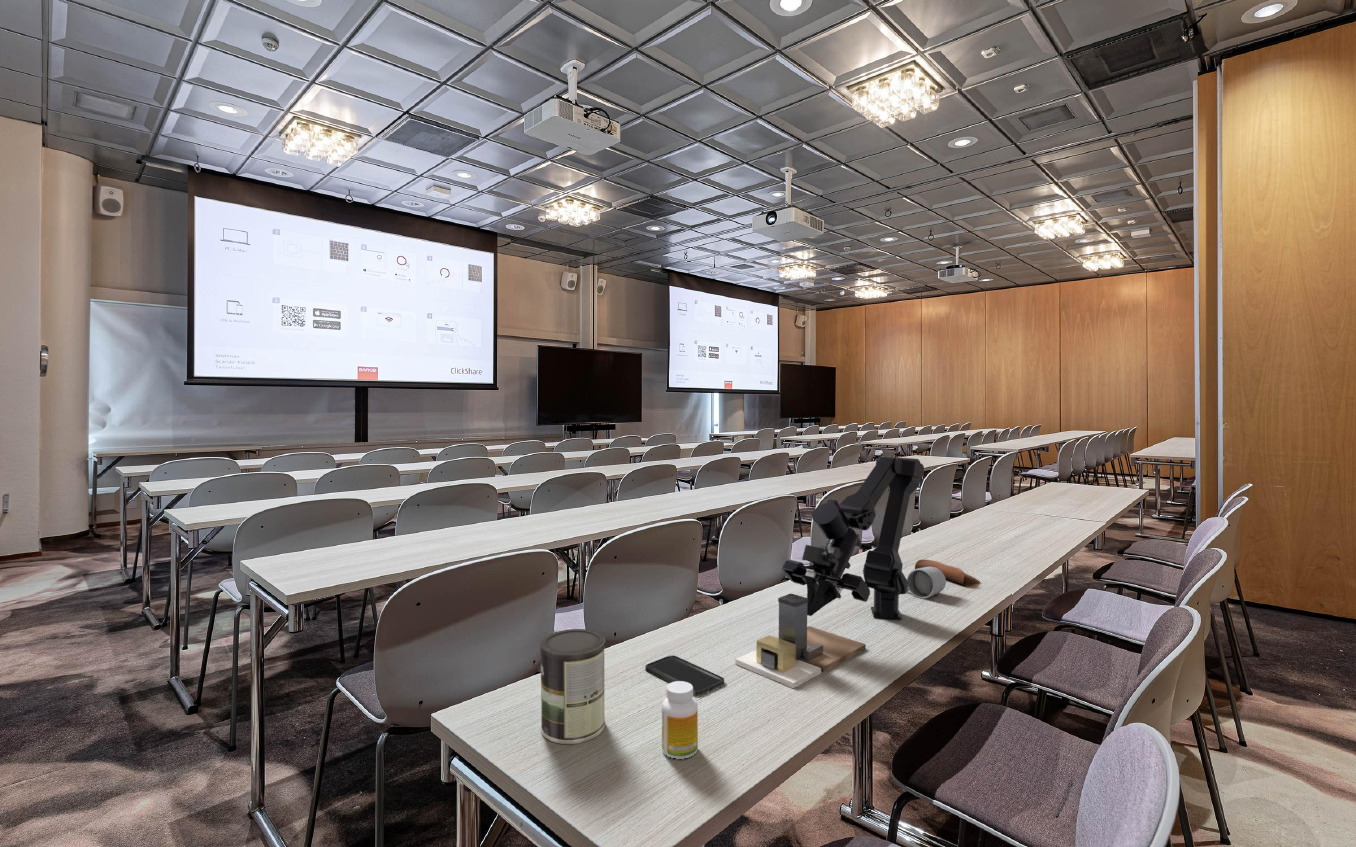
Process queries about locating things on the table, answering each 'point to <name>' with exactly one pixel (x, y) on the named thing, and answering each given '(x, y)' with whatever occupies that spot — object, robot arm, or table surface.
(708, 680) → the phone
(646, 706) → the table surface
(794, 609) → the dark square pillar
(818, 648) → the guide rails
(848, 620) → the table surface
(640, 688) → the table surface
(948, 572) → the orange brown tapered rod
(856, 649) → the door leaf
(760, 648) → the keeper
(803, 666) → the jamb plate
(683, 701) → the supplement bottle
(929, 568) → the ceramic mug
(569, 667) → the coffee can
